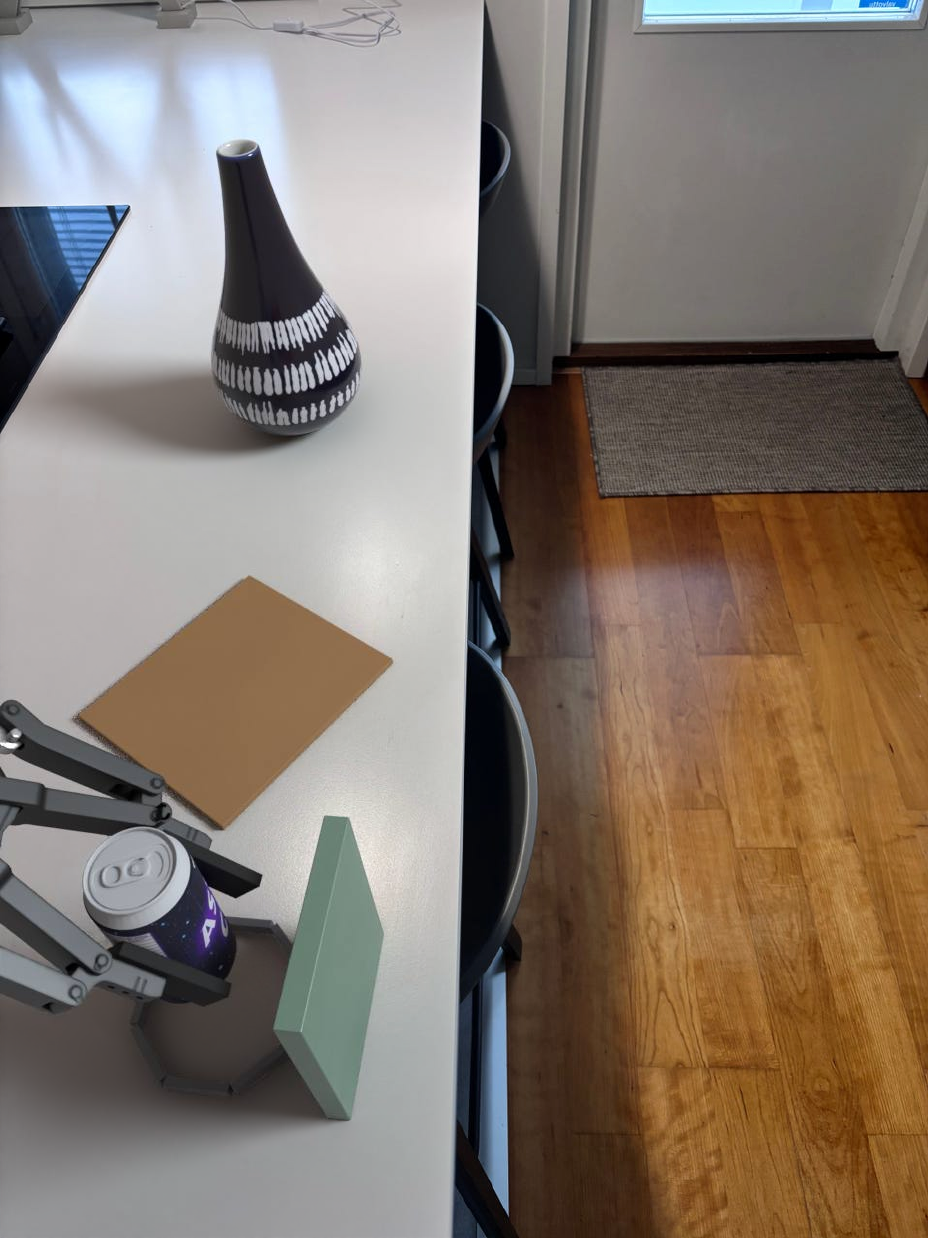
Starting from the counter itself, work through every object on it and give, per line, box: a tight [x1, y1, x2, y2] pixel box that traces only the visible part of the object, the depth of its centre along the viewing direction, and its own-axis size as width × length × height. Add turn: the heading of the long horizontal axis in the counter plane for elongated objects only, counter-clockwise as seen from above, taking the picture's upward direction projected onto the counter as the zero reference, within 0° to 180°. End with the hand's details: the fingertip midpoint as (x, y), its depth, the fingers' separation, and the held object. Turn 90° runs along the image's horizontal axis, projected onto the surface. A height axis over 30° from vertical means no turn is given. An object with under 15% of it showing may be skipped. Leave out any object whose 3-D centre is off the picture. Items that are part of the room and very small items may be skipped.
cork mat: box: [78, 574, 394, 831], centre depth 81 cm, size 20×18×1 cm
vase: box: [210, 139, 363, 437], centre depth 96 cm, size 16×16×30 cm
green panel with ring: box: [128, 815, 385, 1121], centre depth 57 cm, size 15×12×16 cm
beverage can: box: [81, 827, 238, 1005], centre depth 53 cm, size 6×6×12 cm
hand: (233, 938), depth 54 cm, fingers closed on beverage can, 6 cm apart
